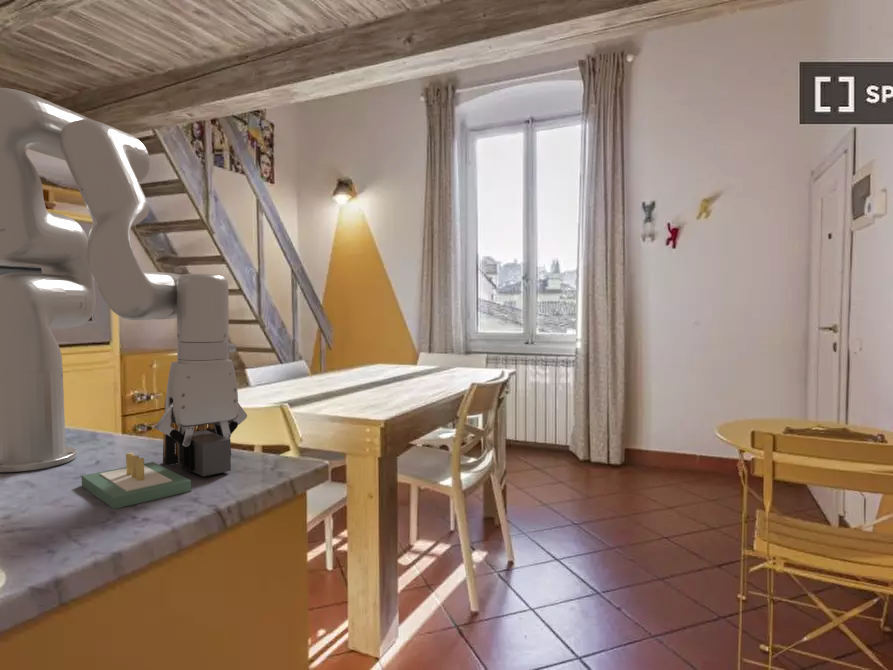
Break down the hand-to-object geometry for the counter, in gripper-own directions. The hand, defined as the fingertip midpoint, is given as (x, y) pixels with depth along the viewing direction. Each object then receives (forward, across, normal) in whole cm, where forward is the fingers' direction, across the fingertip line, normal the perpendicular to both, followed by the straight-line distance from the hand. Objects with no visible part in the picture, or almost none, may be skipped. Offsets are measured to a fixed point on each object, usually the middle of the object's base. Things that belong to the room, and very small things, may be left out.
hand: (204, 465), depth 93 cm
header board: (+1, +11, +2) cm, 11 cm away
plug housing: (0, 0, 0) cm, 0 cm away
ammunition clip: (+1, -2, -8) cm, 8 cm away
